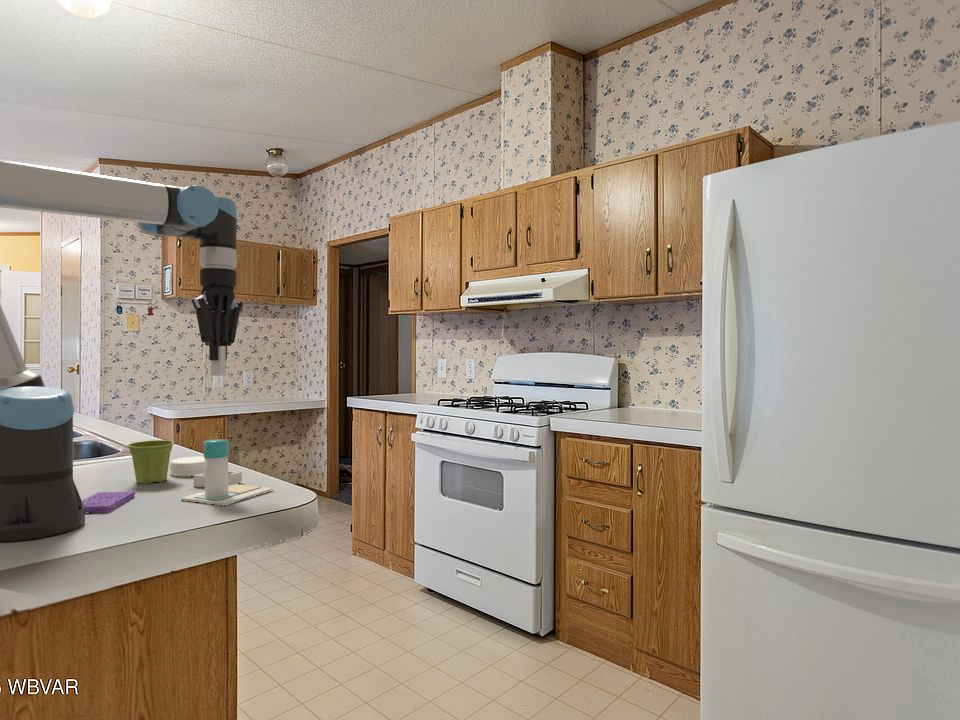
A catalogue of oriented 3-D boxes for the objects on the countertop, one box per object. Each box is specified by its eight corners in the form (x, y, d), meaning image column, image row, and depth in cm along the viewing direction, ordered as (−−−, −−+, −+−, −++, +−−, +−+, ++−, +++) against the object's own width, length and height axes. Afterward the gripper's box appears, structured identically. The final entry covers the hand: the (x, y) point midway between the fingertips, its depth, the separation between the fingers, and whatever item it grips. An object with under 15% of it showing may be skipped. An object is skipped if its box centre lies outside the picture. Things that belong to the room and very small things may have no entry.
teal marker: (217, 498, 123) (216, 443, 123) (198, 496, 125) (198, 442, 124) (233, 493, 127) (233, 440, 127) (216, 492, 129) (215, 438, 129)
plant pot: (161, 486, 137) (160, 446, 137) (118, 485, 137) (118, 446, 137) (182, 477, 147) (182, 440, 146) (142, 476, 147) (142, 439, 147)
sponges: (67, 516, 114) (67, 506, 114) (98, 500, 127) (98, 490, 127) (109, 515, 115) (109, 505, 115) (135, 499, 128) (135, 490, 128)
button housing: (218, 489, 134) (218, 477, 134) (193, 486, 137) (193, 475, 137) (241, 483, 141) (241, 472, 141) (217, 480, 143) (217, 469, 143)
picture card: (224, 506, 120) (224, 502, 120) (181, 500, 124) (181, 497, 124) (272, 490, 134) (272, 487, 134) (232, 486, 137) (232, 483, 137)
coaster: (176, 479, 145) (176, 464, 145) (165, 472, 153) (165, 458, 152) (220, 474, 151) (220, 459, 151) (208, 468, 159) (208, 454, 159)
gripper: (226, 272, 145) (226, 373, 146) (181, 265, 133) (181, 376, 134) (252, 271, 143) (252, 374, 143) (209, 264, 131) (208, 377, 131)
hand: (218, 375), depth 138 cm, fingers closed
